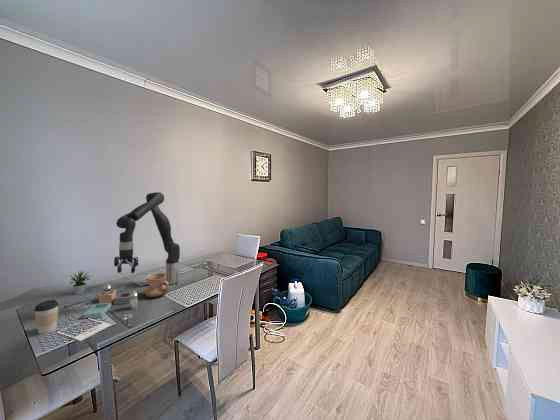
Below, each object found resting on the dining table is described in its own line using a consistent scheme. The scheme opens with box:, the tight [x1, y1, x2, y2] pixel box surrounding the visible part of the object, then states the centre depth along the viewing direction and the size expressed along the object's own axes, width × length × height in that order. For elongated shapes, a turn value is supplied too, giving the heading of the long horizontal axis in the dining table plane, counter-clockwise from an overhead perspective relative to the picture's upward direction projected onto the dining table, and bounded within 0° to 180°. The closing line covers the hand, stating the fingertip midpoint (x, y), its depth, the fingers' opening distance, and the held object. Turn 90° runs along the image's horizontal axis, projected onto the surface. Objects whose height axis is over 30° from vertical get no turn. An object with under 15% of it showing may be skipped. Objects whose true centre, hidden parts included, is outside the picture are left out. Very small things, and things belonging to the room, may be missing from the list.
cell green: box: [129, 291, 139, 311], centre depth 144 cm, size 4×4×11 cm
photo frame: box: [56, 318, 111, 342], centre depth 121 cm, size 15×1×18 cm
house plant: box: [66, 270, 94, 295], centre depth 162 cm, size 14×14×16 cm
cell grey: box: [102, 283, 112, 295], centre depth 152 cm, size 4×4×11 cm
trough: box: [82, 302, 112, 320], centre depth 138 cm, size 9×13×3 cm
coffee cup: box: [33, 299, 60, 335], centre depth 119 cm, size 9×9×15 cm
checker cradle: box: [113, 291, 132, 306], centre depth 154 cm, size 9×13×5 cm
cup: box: [98, 289, 117, 304], centre depth 152 cm, size 7×7×6 cm
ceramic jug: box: [144, 272, 170, 298], centre depth 163 cm, size 18×14×14 cm
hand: (126, 272), depth 149 cm, fingers open, 8 cm apart
